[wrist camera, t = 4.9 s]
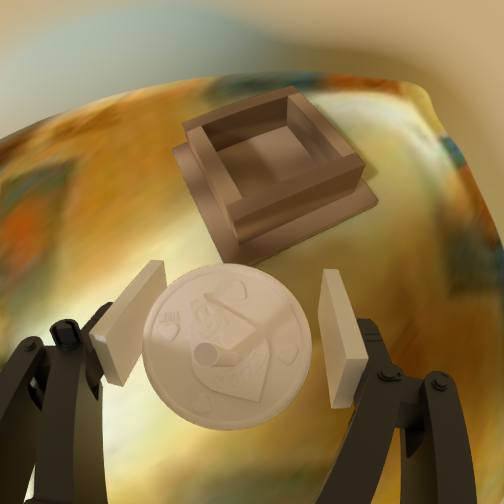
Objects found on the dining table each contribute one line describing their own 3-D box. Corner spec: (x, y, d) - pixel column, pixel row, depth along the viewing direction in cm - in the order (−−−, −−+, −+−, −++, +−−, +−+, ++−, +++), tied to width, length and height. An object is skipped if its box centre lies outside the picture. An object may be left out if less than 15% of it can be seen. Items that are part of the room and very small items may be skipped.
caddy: (173, 154, 26) (160, 120, 22) (295, 108, 27) (298, 73, 23) (230, 276, 21) (220, 252, 17) (375, 205, 23) (393, 173, 18)
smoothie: (228, 417, 17) (151, 506, 4) (181, 339, 20) (46, 281, 7) (310, 368, 18) (398, 370, 5) (259, 292, 21) (243, 160, 8)
